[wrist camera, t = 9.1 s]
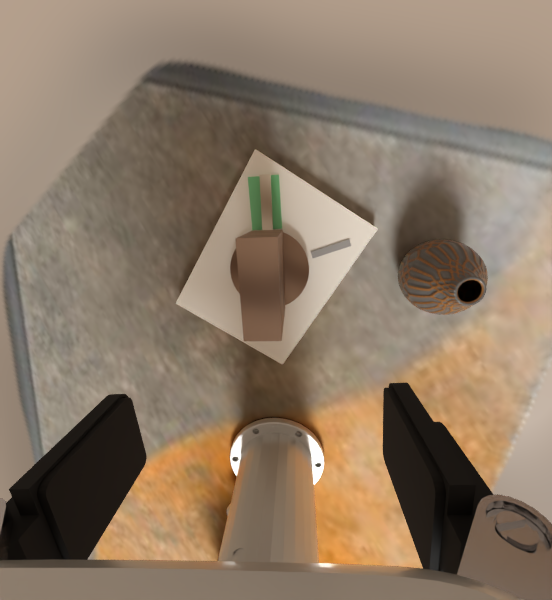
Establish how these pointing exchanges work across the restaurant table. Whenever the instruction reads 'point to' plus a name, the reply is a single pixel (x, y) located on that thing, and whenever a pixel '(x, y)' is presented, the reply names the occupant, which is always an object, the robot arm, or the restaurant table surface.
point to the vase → (442, 277)
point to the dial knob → (267, 273)
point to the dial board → (292, 220)
